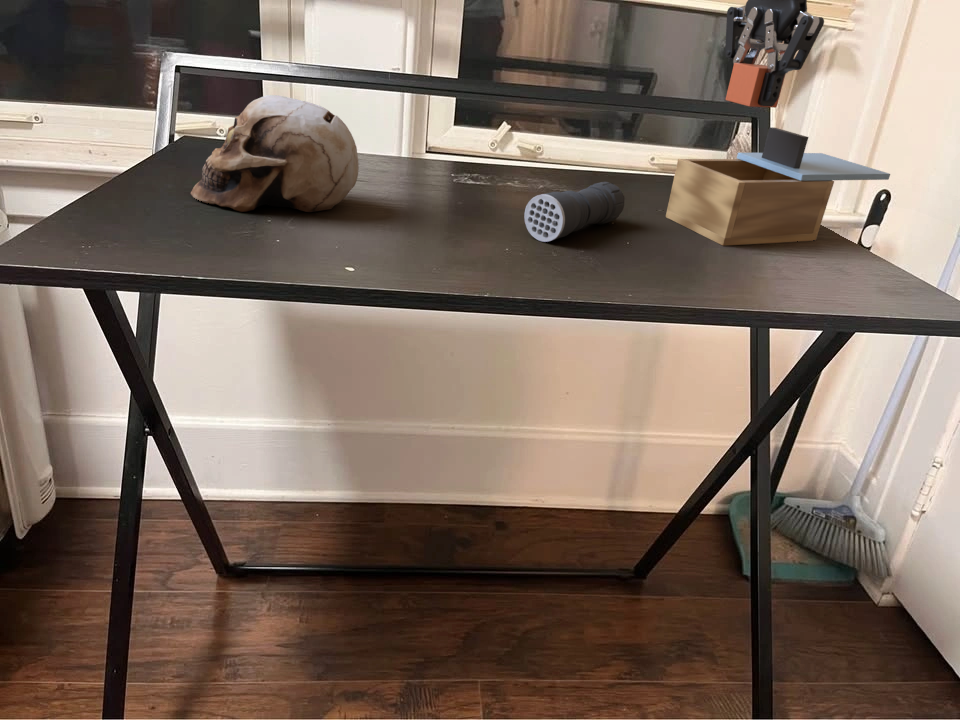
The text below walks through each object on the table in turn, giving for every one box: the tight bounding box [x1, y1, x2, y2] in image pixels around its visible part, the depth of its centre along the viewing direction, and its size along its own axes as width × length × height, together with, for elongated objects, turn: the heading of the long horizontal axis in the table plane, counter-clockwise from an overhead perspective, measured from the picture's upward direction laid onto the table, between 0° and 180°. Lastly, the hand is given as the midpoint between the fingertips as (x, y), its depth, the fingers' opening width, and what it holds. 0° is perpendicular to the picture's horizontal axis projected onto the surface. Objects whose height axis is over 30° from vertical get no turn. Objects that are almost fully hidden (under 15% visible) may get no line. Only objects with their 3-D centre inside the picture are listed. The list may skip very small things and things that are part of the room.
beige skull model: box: [190, 94, 360, 213], centre depth 89 cm, size 16×17×13 cm
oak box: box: [665, 158, 835, 247], centre depth 99 cm, size 12×16×8 cm
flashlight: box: [523, 181, 625, 243], centre depth 92 cm, size 15×5×5 cm, turn 141°
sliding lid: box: [736, 126, 891, 181], centre depth 101 cm, size 12×16×5 cm
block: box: [725, 63, 786, 109], centre depth 91 cm, size 4×4×4 cm
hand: (751, 101), depth 92 cm, fingers closed on block, 4 cm apart
